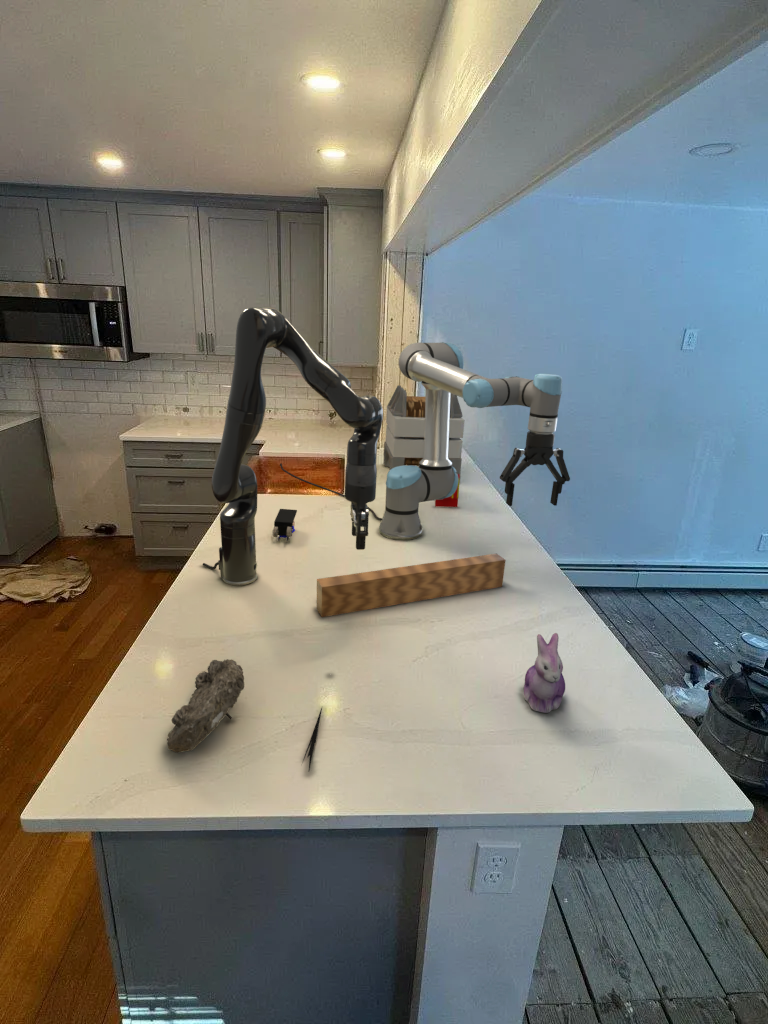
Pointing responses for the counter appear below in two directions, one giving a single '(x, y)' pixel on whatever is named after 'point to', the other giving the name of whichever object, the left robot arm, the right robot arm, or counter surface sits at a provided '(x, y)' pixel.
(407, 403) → the grey and brown box
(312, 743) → the feather
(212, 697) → the fossil
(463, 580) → the beam
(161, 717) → the counter surface
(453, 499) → the toy
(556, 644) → the figurine
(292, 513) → the figurine character
